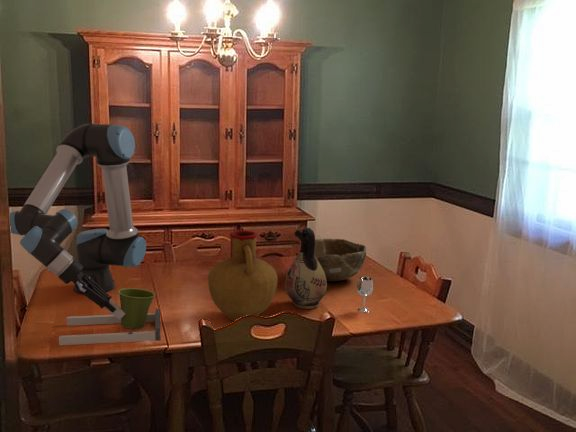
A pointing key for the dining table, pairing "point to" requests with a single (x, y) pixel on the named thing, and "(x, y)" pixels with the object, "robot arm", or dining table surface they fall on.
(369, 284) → the wineglass
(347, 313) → the dining table surface
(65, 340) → the guide channel
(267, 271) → the vase
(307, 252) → the ceramic jug
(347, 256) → the bowl
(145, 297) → the plant pot
